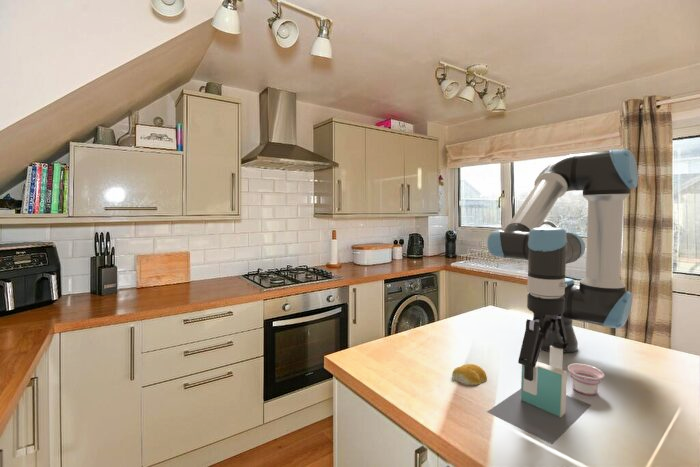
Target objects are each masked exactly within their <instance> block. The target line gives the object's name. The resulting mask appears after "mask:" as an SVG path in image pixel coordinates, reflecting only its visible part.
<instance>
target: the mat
mask: <svg viewBox="0 0 700 467" xmlns="http://www.w3.org/2000/svg"><path fill="white" fill-rule="evenodd" d="M591 406H592V404H591V403H588V402H585V401H582V400H580V399H578V398H574V397H572V396H570V395H567V394H566V411H565V414H564V415H563V416H562V417H559V416H557V415H555V414H552V413H550V412H548V411H545V410H543V409H541V408H538V407H536V406H534V405H532V404H529V403H527V402H525V401H522V400H521V388H519V389H518V390H516V392H514V393H512V394H510V395H508V397H506V398H505V399H504V400H502V401H501V402H499V403H498V404H496V405H495V406H493V407H491V408H490V409H489V410H487V411H486V413H489V414H490V415H492V416H494V417H496V418H499V419H500V420H502V421H504V422H506V423H509V424H510V425H513V426H515V427H517V428H518V429H520V430H522V431H524V432H527V433H529V434H531V435H533V436H535V437H537V438H539V439H541V440H542V441H545V442H547V443H548V444H551V445H553V444H554V443H555V442H556V441H558V439H559V438H560V437H561V436H563V435H564V433H565V432H566V431H567V430H568V429H569V428H570V427H571V426H573V424H574V423H575V422H576V421H577V420H579V418H580V417H581V416H582V415H584V413H586V411H587V410H588V409H589V408H590V407H591Z"/></svg>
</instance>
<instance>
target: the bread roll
mask: <svg viewBox="0 0 700 467" xmlns="http://www.w3.org/2000/svg"><path fill="white" fill-rule="evenodd" d="M451 375H452V379H453V380H454V381H455V382H460V383H462V384H464V385H466V386H477V385H480V384H481V383H486V382H487V380H488V376H487V373H486V371H485V370H484V369H483V368H482V367H481V366H479V365H478V364H474V363H468V364H467V363H466V364H463V365H461V366H458V367H455V368H454V370H453V371H452V373H451Z"/></svg>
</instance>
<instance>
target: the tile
mask: <svg viewBox="0 0 700 467" xmlns="http://www.w3.org/2000/svg"><path fill="white" fill-rule="evenodd" d="M536 366H538V381H537V395H533V394H531V393H528V392H526V391H523V379H524V365H522V364H521V381H520V383H521V384H520V389H521V400H522V401H525V402H527V403H529V404H532V405H534V406H536V407H538V408H541V409H543V410H545V411H548V412H550V413H552V414H555V415H557V416H559V417H562V416H563V415H564V414H565V411H566V395H567V380H568V370H565V369H563V368H562V369H559V368H556V367H553V366H550V365H549V364H547V363H543V362H542V361H541V362H540V361H538V360H537V363H536Z"/></svg>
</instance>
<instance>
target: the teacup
mask: <svg viewBox="0 0 700 467" xmlns="http://www.w3.org/2000/svg"><path fill="white" fill-rule="evenodd" d="M567 372H569V374H570V377H571V378H572V388H573V389H574V390H576V391H577V392H578V393H580V394H583V395H587V396H593V395H596V394H598V391H599V389H598V388H599V384H600V383H601V381H603V380H604V378H605V373H604V371H602V370H601V369H600V368H598V367H595V366H593V365H590V364H586V363H581V362H579V363H578V362H574V363H570V364H569V365H567Z"/></svg>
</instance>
